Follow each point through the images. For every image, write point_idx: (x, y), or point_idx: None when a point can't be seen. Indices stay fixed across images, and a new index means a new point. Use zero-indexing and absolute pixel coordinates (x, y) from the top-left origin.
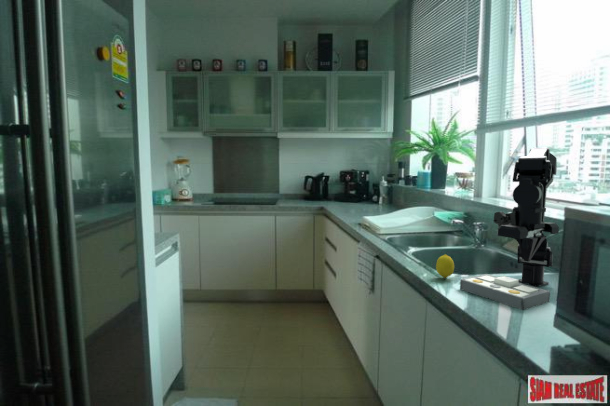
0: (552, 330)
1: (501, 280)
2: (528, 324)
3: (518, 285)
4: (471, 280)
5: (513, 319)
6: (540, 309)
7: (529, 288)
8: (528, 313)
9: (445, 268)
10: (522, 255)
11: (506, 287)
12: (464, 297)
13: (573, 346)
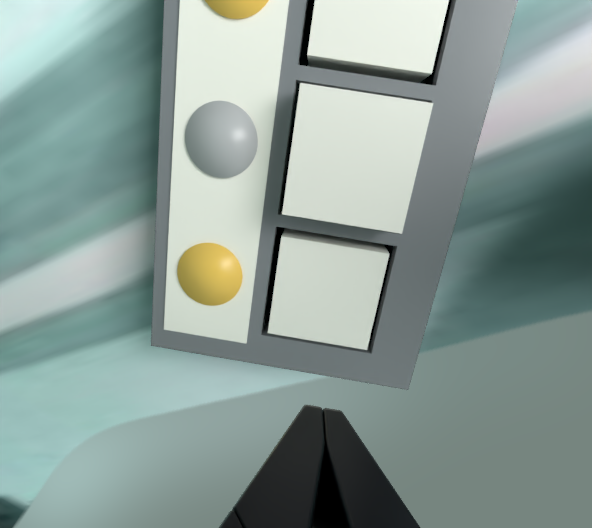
0: (71, 450)
1: (292, 149)
2: (45, 385)
3: None
4: None
5: (38, 333)
6: None
7: (349, 309)
8: None
9: None
10: (282, 437)
11: (272, 198)
12: (82, 19)
13: (13, 512)
